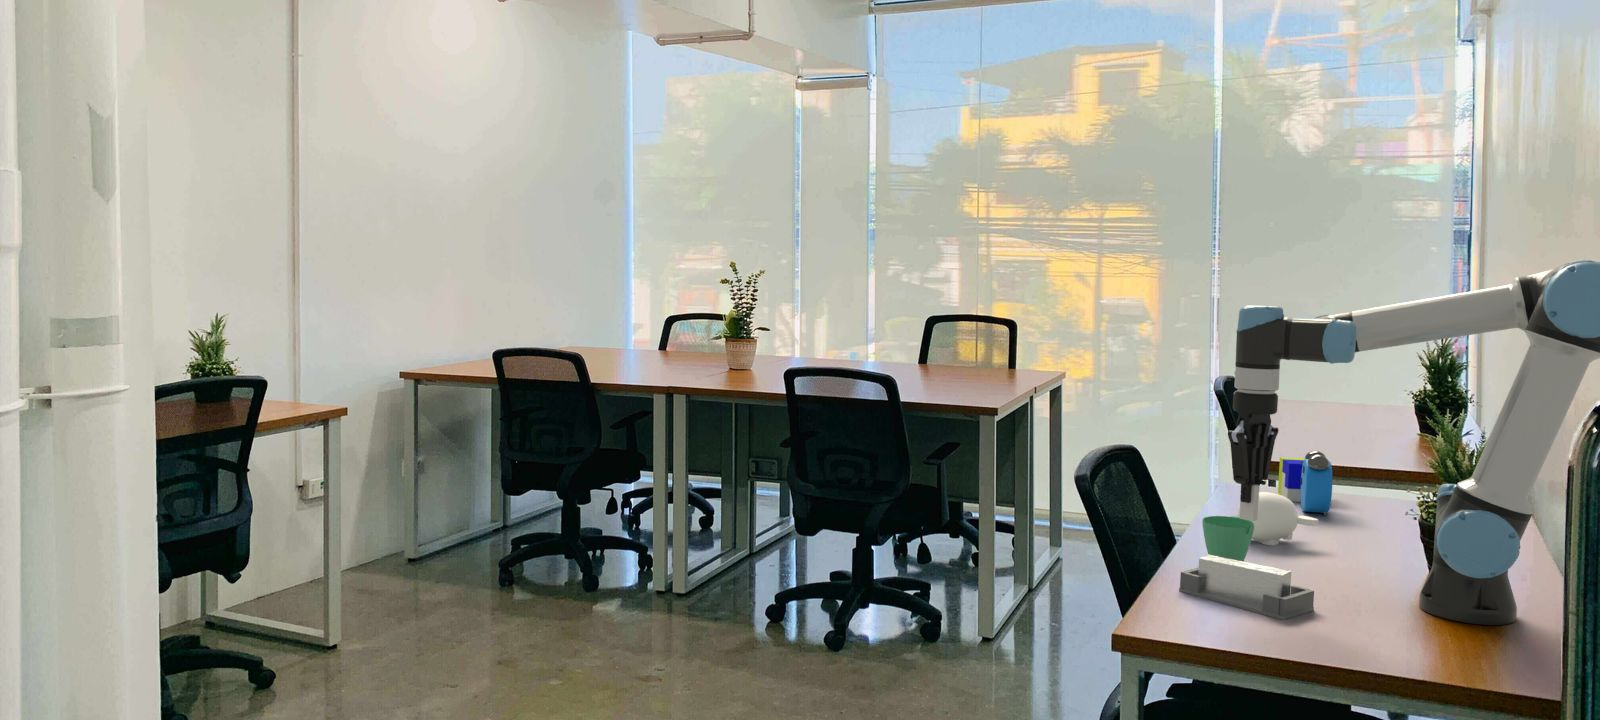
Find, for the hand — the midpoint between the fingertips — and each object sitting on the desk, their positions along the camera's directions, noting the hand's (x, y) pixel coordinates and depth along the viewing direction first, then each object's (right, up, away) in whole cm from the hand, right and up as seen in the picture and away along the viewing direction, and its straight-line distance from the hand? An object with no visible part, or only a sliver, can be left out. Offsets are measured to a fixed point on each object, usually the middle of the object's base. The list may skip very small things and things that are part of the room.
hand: (1248, 519), depth 211 cm
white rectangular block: (0, -14, +2) cm, 15 cm away
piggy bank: (+24, -12, +46) cm, 53 cm away
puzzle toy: (+51, -8, +95) cm, 109 cm away
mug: (+5, -13, +24) cm, 28 cm away
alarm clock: (+47, -9, +78) cm, 92 cm away
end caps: (0, -15, +1) cm, 15 cm away
